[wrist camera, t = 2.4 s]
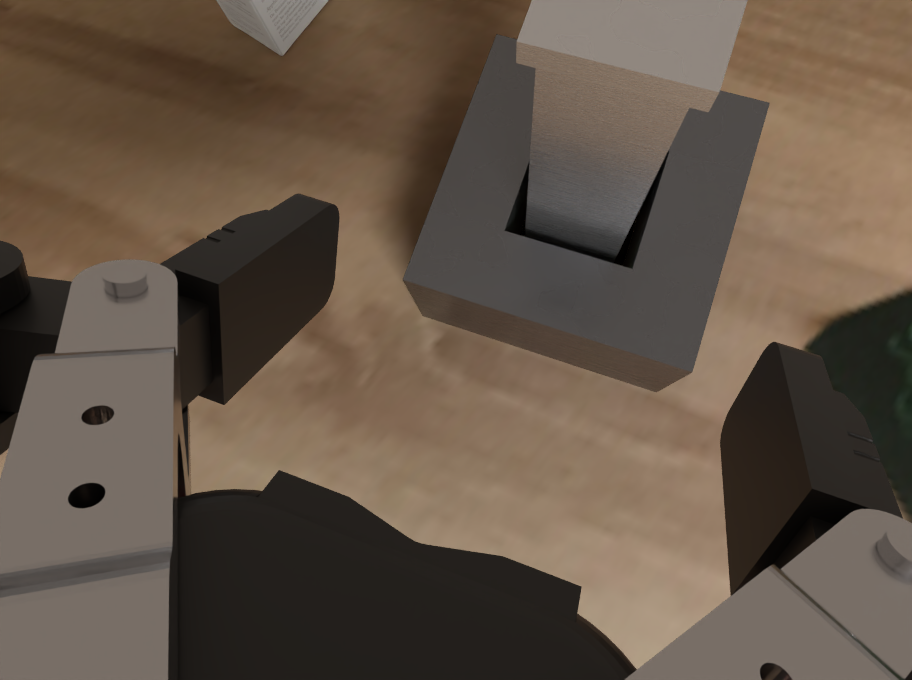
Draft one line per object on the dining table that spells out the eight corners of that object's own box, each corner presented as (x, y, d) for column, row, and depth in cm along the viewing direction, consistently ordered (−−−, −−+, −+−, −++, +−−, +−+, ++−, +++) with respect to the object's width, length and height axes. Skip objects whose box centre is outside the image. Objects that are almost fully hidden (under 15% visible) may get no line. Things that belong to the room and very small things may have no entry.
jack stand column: (512, 270, 31) (516, 41, 15) (542, 185, 32) (577, -121, 16) (605, 298, 31) (719, 92, 14) (633, 211, 31) (771, -81, 15)
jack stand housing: (422, 315, 32) (400, 275, 25) (498, 110, 34) (496, 26, 27) (656, 392, 30) (696, 370, 23) (721, 171, 32) (774, 95, 25)
